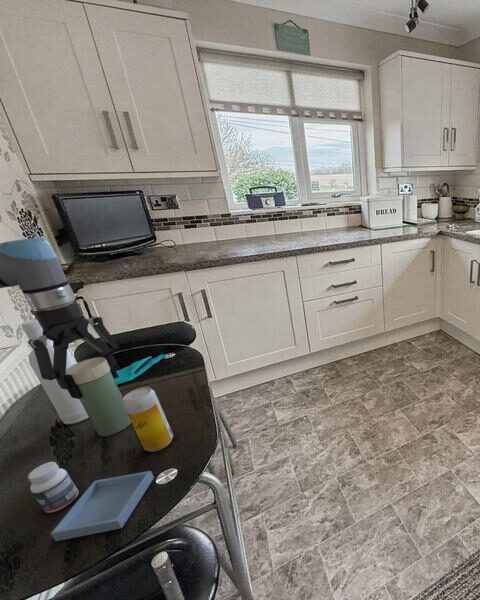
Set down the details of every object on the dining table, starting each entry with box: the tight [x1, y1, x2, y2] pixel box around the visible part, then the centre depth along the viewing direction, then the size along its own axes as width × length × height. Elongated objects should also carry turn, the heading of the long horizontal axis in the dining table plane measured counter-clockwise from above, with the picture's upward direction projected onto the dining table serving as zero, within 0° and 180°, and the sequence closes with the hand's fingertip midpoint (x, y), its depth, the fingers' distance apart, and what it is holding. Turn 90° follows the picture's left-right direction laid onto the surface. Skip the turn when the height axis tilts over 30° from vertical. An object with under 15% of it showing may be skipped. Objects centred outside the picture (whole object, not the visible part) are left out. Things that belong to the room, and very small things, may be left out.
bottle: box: [20, 318, 90, 425], centre depth 89 cm, size 8×8×30 cm
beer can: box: [123, 386, 174, 453], centre depth 78 cm, size 6×6×15 cm
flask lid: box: [66, 356, 110, 385], centre depth 82 cm, size 8×8×3 cm
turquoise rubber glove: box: [114, 353, 167, 385], centre depth 114 cm, size 26×14×2 cm, turn 132°
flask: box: [76, 371, 132, 437], centre depth 85 cm, size 8×8×18 cm
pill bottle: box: [27, 461, 79, 514], centre depth 66 cm, size 5×5×9 cm
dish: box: [50, 470, 155, 542], centre depth 65 cm, size 11×11×2 cm
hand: (96, 386), depth 84 cm, fingers closed on flask lid, 8 cm apart
